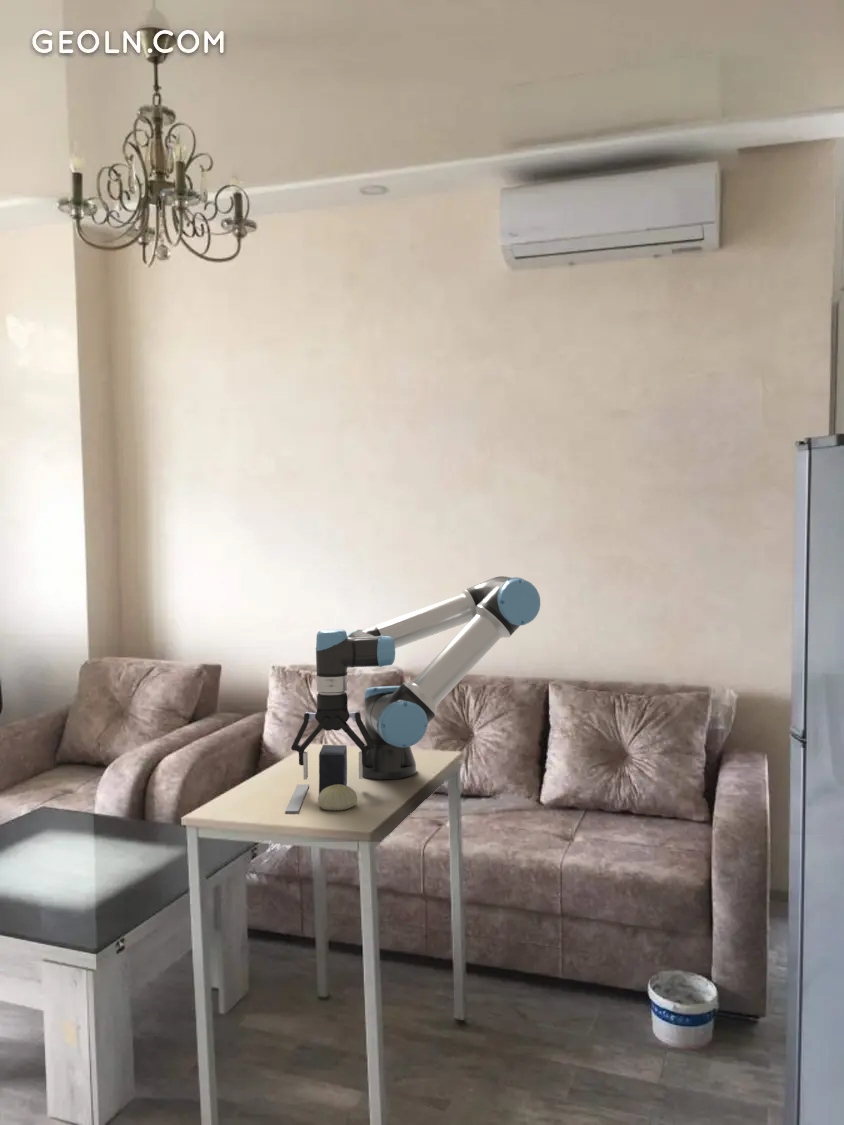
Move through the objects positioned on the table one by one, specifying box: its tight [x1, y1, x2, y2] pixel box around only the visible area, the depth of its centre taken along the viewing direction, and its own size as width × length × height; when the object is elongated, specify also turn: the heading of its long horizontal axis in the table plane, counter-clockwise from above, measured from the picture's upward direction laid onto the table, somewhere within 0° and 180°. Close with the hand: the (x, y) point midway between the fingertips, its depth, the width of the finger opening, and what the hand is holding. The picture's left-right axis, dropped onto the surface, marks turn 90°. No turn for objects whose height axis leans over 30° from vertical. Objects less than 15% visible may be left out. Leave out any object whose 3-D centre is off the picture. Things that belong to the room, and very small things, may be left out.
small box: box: [318, 744, 348, 795], centre depth 237 cm, size 11×6×10 cm, turn 1°
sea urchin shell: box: [317, 784, 358, 811], centre depth 223 cm, size 9×8×8 cm
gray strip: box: [284, 783, 310, 814], centre depth 230 cm, size 3×23×1 cm, turn 1°
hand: (333, 777), depth 237 cm, fingers open, 13 cm apart
